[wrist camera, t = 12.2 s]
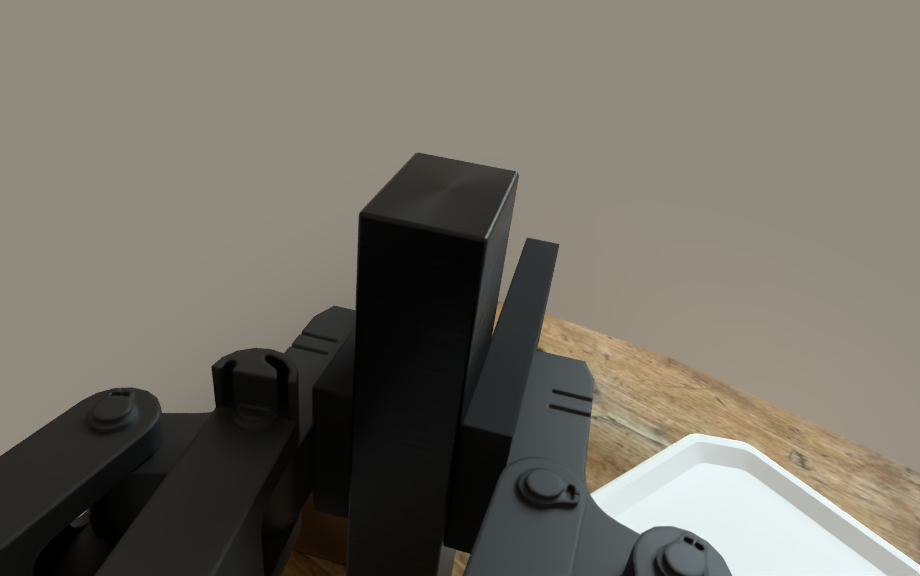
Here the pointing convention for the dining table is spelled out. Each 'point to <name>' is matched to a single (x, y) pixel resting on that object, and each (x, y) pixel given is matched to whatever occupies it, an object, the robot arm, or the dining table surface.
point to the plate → (748, 512)
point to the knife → (420, 354)
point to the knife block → (322, 534)
